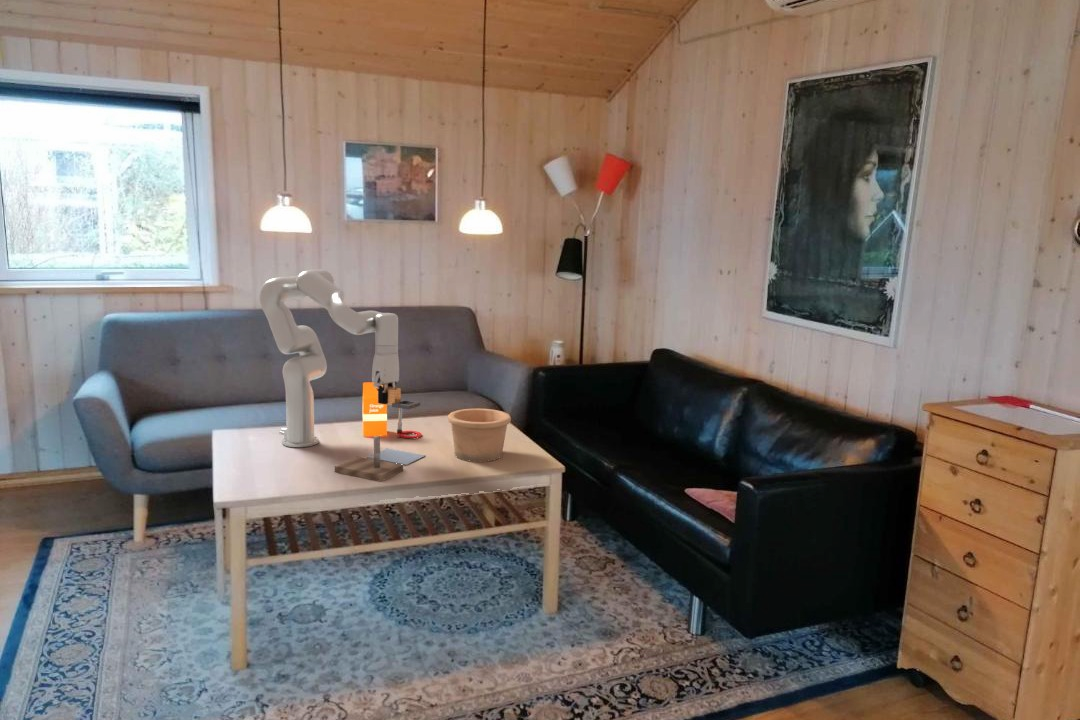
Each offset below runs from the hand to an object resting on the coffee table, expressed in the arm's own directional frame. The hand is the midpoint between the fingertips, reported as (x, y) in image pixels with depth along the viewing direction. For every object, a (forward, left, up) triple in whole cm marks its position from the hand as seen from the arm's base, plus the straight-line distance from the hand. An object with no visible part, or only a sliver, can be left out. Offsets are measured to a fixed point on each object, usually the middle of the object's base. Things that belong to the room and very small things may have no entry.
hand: (386, 401), depth 257 cm
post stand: (+5, -17, -19) cm, 26 cm away
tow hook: (-7, +25, -20) cm, 33 cm away
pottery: (+27, +17, -19) cm, 38 cm away
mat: (+4, 0, -19) cm, 20 cm away
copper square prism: (+5, 0, 0) cm, 5 cm away
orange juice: (-20, +21, -19) cm, 35 cm away
